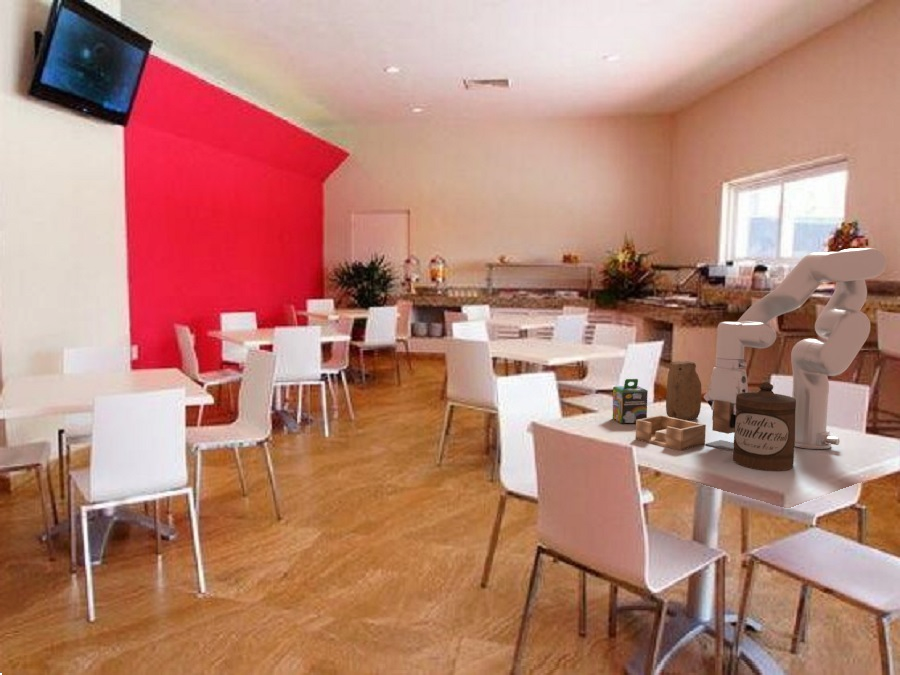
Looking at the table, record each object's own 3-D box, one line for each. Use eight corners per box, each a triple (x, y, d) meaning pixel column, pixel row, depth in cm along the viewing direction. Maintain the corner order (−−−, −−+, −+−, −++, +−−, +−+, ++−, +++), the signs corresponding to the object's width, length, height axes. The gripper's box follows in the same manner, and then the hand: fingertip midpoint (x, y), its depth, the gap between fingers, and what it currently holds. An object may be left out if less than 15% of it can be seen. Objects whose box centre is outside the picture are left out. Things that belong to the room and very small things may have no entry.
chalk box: (636, 417, 239) (638, 376, 237) (647, 423, 230) (649, 380, 228) (611, 418, 238) (612, 376, 236) (621, 424, 229) (622, 380, 227)
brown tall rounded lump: (672, 420, 234) (674, 363, 232) (663, 416, 242) (665, 360, 240) (702, 420, 235) (705, 363, 233) (693, 415, 243) (695, 360, 241)
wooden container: (726, 464, 183) (730, 383, 180) (741, 452, 194) (745, 376, 192) (786, 474, 174) (791, 389, 171) (798, 462, 185) (803, 382, 183)
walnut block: (737, 431, 200) (739, 401, 200) (727, 433, 198) (729, 403, 197) (722, 428, 204) (723, 398, 204) (712, 430, 202) (714, 400, 201)
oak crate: (704, 444, 203) (705, 424, 202) (680, 450, 196) (681, 430, 195) (659, 433, 216) (660, 415, 215) (635, 439, 209) (636, 419, 208)
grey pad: (745, 446, 201) (745, 445, 201) (730, 450, 196) (730, 449, 196) (720, 441, 207) (720, 439, 207) (705, 445, 202) (705, 443, 202)
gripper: (764, 367, 194) (759, 429, 196) (710, 359, 208) (706, 418, 210) (749, 368, 190) (745, 432, 192) (695, 361, 204) (692, 421, 205)
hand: (725, 424), depth 201 cm, fingers closed on walnut block, 5 cm apart
